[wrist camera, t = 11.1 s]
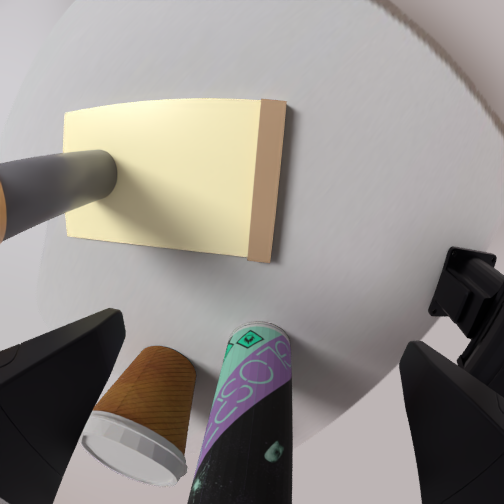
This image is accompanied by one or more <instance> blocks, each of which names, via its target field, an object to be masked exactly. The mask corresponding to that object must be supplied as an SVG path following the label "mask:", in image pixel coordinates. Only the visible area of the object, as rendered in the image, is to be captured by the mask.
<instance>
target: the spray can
mask: <svg viewBox="0 0 504 504" xmlns="http://www.w3.org/2000/svg"><path fill="white" fill-rule="evenodd" d="M292 451H293V436H292V372H291V347H290V341H289V338H288V336H287V335H286V333H285V332H284V331H283V330H282V329H280V328H279V327H277V326H275V325H273V324H270V323H266V322H250V323H246V324H243V325H241V326H239V327H238V328H237V329H235V330H234V332H233V333H232V334H231V336H230V338H229V341H228V345H227V349H226V353H225V357H224V361H223V365H222V369H221V373H220V377H219V381H218V385H217V389H216V393H215V396H214V400H213V404H212V408H211V412H210V416H209V420H208V424H207V428H206V432H205V436H204V440H203V444H202V448H201V452H200V456H199V460H198V464H197V468H196V472H195V476H194V480H193V484H192V487H191V492H190V496H189V500H188V504H292Z"/></svg>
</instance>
